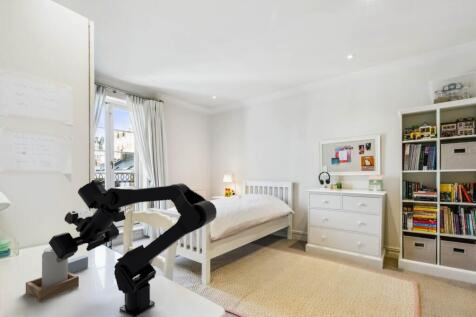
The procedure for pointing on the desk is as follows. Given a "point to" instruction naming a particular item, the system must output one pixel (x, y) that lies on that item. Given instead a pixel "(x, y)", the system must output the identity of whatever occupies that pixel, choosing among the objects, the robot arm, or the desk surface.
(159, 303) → the desk surface
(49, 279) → the beverage can
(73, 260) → the block
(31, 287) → the tray
